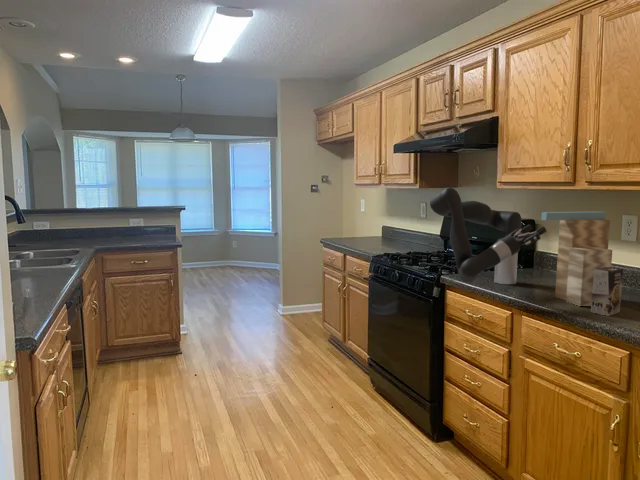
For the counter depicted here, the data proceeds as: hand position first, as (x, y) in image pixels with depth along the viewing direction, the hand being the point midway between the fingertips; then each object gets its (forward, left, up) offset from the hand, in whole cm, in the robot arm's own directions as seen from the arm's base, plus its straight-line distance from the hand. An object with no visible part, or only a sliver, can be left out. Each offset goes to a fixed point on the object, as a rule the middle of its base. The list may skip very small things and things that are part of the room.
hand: (538, 227), depth 190 cm
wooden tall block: (+16, +13, -29) cm, 36 cm away
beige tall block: (+18, +5, -29) cm, 35 cm away
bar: (+12, +10, +3) cm, 16 cm away
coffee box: (+25, -6, -29) cm, 39 cm away
